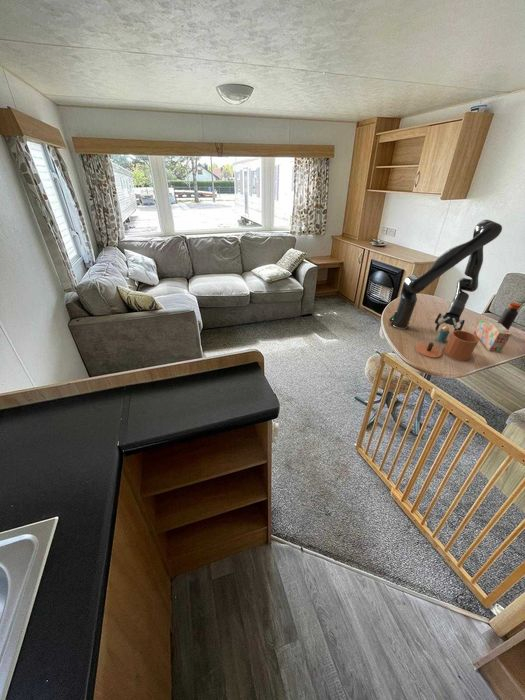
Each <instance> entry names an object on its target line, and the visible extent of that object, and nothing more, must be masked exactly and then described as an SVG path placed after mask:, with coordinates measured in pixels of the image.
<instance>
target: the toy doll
mask: <svg viewBox="0 0 525 700" xmlns="http://www.w3.org/2000/svg"><path fill="white" fill-rule="evenodd" d="M449 335H450V327H449V326H446V325H445V326H444V327H442V328H441V329H440V330H439V332H438V335H437V337H436V341H438V342H440V343H445V342H446V341H447V338H448V336H449Z"/></svg>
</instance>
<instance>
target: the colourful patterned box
mask: <svg viewBox="0 0 525 700" xmlns="http://www.w3.org/2000/svg"><path fill="white" fill-rule="evenodd" d="M474 333H475V336H477V337H478V339H479V340H480V341H481V342H482V344H483V346H485V348H486V350H487V351H489V352H496V353H501V352H502V350H503V349H504V348H505V346H506V344H507V342H508V341H509V339H510V337H511V336H512V333H511V332H510V331H509V330H507V329H506V328H505V327H504V326H503V325H502V324H500V323H498V322H493V321H492V320H488V319H487V320H486V319H480V321H479V322H478V325H477V327H476V329H475V330H474Z"/></svg>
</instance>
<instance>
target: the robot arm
mask: <svg viewBox="0 0 525 700" xmlns="http://www.w3.org/2000/svg"><path fill="white" fill-rule="evenodd" d="M502 230H503V226H502V224H500V223H498V222H496V221H493V220H491V219H482V220H481V221H478V223H477V224H476V225H475V227H474V229H473V234H472V238H471V239H470V240H468V241H466V242H463V243H461V244H457V245H455V246H452V247H450V248H449V249H447V250H446V251H444V253H442V254H440V255H439V256H438V257H437V258H436V259H435V260H434V262H433V264H432V265H431V266H430V268H429V269H428V270H427V271H426V272H424V273H423V274H421V275H417V274H409V275H408V276H406V277H405V279H404V281H403V284H402V287H401V291H400V298H399V302H398V304H397V307H396V310H395V312H394V314H393V315H392V316H390V318H389V319H388V320H389V322H390V326H392V327H393V328H396V329H400V330H406V329H407V328H408V327H409V324H410V321H411V317H412V315H413V312H414V310H415V307H416V304H417V302H418V297H417V294H419V293H421V292H422V291H424V290H425V289H427V287H429V285H431V284H433V282H434V281H435V280H437V279H438V278H439V277H441V276H443V274H445V273H447V271H449V270H451V269H452V268H454V267H455V266H456V265H458V264H459V263H461V262H462V261H463V260H464V259H466V258H467V257H468V260H467V264H466V266H465V270H464V275H465V276H466V277H461V278H459V279H458V280H457V283H456V290H455V295H454V296H453V298H452V301H451V302H450V304H449V306H448V307H447V310H446V312H445V314H442V313H438V315H437V317H436V319H434V324H436V326H435V328H434V329H435V331H436V332H438V330H439V329H440V326H441V325H443V324H446V325H449V326H452V327H453V331H456V330H461V331H462V329H463V327H464V324H465V323H466V321H465V319H460V318H461V316H462V314H463V312H464V311H465V307H466V304H467V302H468V301H469V298H470V295H469V293H467V292H470V293H473V292H475V291H476V290H477V289H478V288H479V275H480V272H481V270H482V267H483V263H484V246H486V245H488V244H489V243H491V242H493V241H494V240H496V239H498V237H499V236H500V235H501V233H502V232H503V231H502ZM467 277H468V278H467ZM440 319H441V320H440ZM458 323H459V327H458Z"/></svg>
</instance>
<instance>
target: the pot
mask: <svg viewBox="0 0 525 700" xmlns="http://www.w3.org/2000/svg"><path fill="white" fill-rule="evenodd" d="M479 340H480V339H479V337H478V336H477V335H476V334H474V333H471V332H469V331H466V330H462V329H461V330H456V331H454V330H453V331H452V332H451V335H450V337H449V338H448V341H447V343H446V345H445V347H444V349H443V352H444V353H445V355H447V356H448V357H450V358H452V359H454V360H458V361H468V360H469V359H470V358H471V356H472V354H473V352H474V350H475V348H476V347H477V345H478V343H479Z"/></svg>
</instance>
